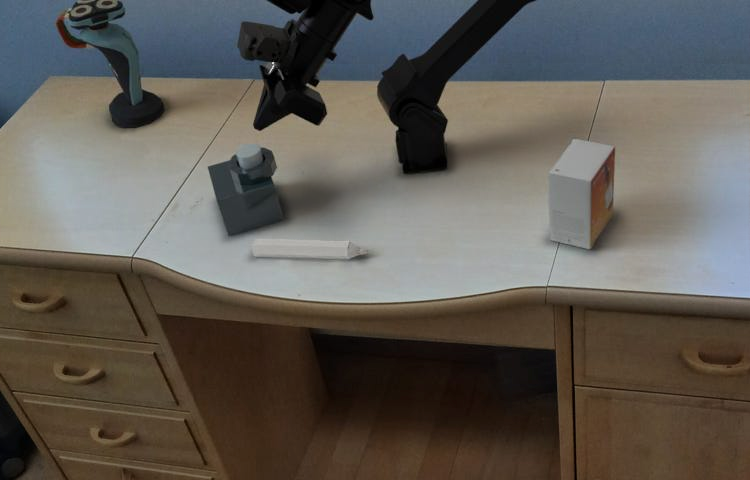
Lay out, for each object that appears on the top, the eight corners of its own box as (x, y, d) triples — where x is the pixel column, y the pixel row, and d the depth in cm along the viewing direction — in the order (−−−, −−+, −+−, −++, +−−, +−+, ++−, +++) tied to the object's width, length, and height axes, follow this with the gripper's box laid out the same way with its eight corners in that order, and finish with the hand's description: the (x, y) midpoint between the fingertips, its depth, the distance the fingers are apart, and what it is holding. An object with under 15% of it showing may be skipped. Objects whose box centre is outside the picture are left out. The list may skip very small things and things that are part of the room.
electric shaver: (159, 124, 153) (118, 11, 140) (91, 133, 155) (44, 21, 141) (169, 96, 160) (130, -15, 146) (104, 104, 161) (59, -5, 148)
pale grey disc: (261, 152, 128) (257, 140, 127) (265, 165, 126) (262, 152, 124) (237, 159, 128) (233, 147, 127) (241, 172, 125) (237, 159, 124)
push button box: (279, 184, 136) (267, 137, 130) (292, 218, 129) (279, 170, 124) (219, 201, 135) (203, 155, 129) (228, 236, 128) (213, 190, 123)
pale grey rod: (372, 262, 121) (257, 258, 125) (374, 247, 121) (259, 243, 125) (367, 255, 118) (250, 251, 122) (369, 240, 119) (252, 236, 123)
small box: (590, 251, 115) (591, 182, 108) (548, 240, 118) (546, 172, 110) (614, 214, 120) (616, 145, 112) (573, 204, 122) (573, 136, 115)
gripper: (251, -29, 120) (193, 71, 126) (279, 30, 106) (213, 138, 113) (321, 12, 126) (263, 105, 132) (357, 73, 112) (289, 173, 119)
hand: (256, 128), depth 124 cm, fingers closed
